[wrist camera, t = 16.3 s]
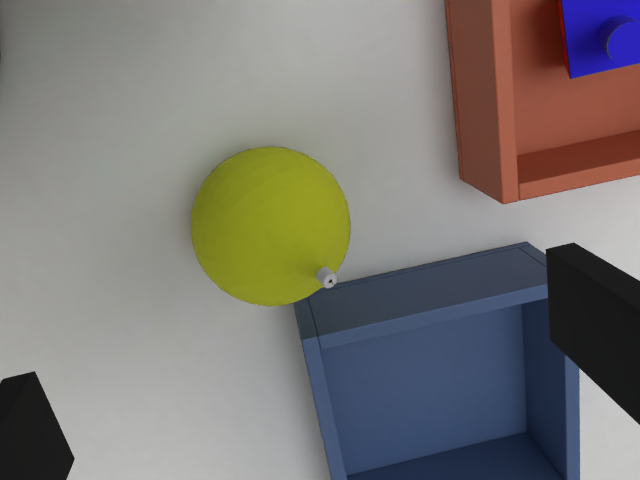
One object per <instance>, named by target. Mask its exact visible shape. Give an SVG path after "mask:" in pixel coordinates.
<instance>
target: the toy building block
mask: <svg viewBox="0 0 640 480" xmlns="http://www.w3.org/2000/svg"><path fill="white" fill-rule="evenodd" d="M557 5H558V13H559V22H560V30H561V38H562V47H563V55H564V63H565V68H566V70H567V73H568V75H569V78H570V79H573V78H578V77H582V76H586V75H591V74H595V73H600V72H604V71H609V70H613V69H617V68H622V67H626V66H631V65H635V64H640V0H557Z"/></svg>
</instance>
